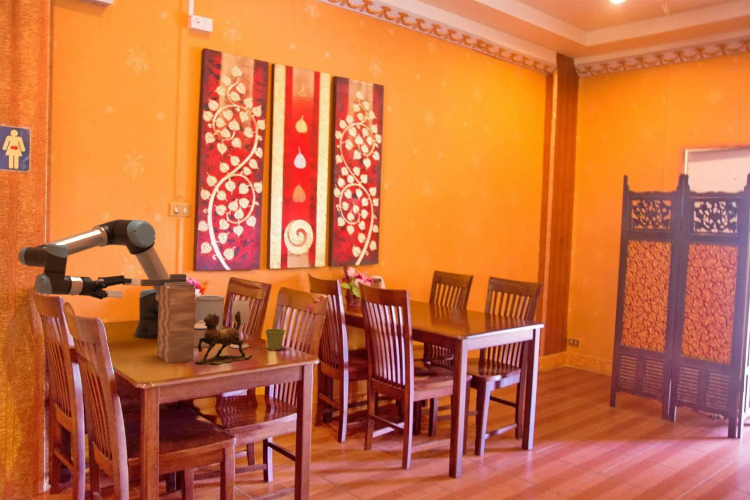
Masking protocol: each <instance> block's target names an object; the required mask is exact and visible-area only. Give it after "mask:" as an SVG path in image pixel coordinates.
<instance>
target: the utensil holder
mask: <svg viewBox="0 0 750 500" xmlns="http://www.w3.org/2000/svg"><path fill="white" fill-rule="evenodd" d="M224 305H225V296H224V295H219V294H200V295H199V294H198V295H195V324H197V323H199V321H203V323H206V322H204V318H206V317H207V316H208V314H210V313H211V314H214V313H215V314H216V316H219V323H218V325H217V326H216V329H217V330H223V324H224V323H223V322H224Z"/></svg>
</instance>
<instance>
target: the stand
mask: <svg viewBox="0 0 750 500" xmlns="http://www.w3.org/2000/svg"><path fill="white" fill-rule="evenodd" d="M195 322H196V287H195V283H189V282H188V281H186V282H173V283H164V286H159V303H158V338H157V343H156V345H157V350H156V351H157V352H156V354H157V355H156V356H158V357H160V358H161V359H162V360H164V361H166V362H167V363H168V362H169V363H168V364H171V363H172V362H173V363H180V362H191V361H194V358H195V357H194V355H195V353H194V352H195V350H194V349H195V347H194V325H195Z"/></svg>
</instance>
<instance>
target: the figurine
mask: <svg viewBox="0 0 750 500" xmlns="http://www.w3.org/2000/svg"><path fill="white" fill-rule="evenodd" d="M240 316H241V315H240V312H239V311H238V312H237V313H236V314H235V320H236V322H237V324H236V327H227V328H224V329H223V328H222V329H221V330H217V329H216V326H217V325H218V323H219V316H216V314H215V313H214V314H211V313H210V314H208V316H207V317H206V318H204V322H206V323H205V326H207V328H206V331H205V334H204V338H202V337H201V338H200V340H199V344H198V348H197V349H198V352H199V353H200V352H202V351H203V348H201V343H202V342H205V343H206V344H209V345H210V346H209V347H207V351H206V353H204V355H203V358H202V359H200V360H195V362H194V364H196V365H212V366H217V365H221V364H222V365H223V364H230V363H232V362H240V361H246V360H250V359H251V358H252V357H253V355H252V354H251V353H250V354H246V353H245V351H244V350H243V348H242V344H243V343H244V342H245V341H244V339H241V340H240V338H239V328H240V326H241V319H240ZM232 344H233V345H238V346H239V348H238V351H239V354H238V355H233V354H229V355H223V354H222V352H223V350H224V349H225V348H226V347H227V346H230V345H232ZM216 345H221V347H220V348H219V349H218V351H217V353H216V354H214V355H213V356H211V357H210V358H208V355H209V354H210V352H211V350H212V349H214V347H215V346H216Z"/></svg>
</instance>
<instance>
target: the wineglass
mask: <svg viewBox="0 0 750 500" xmlns="http://www.w3.org/2000/svg"><path fill="white" fill-rule="evenodd" d="M238 311H239V312H240V315H241V316H240V319H241V326H240V328H239V329H238V332H239V338H240V340H242V327H243V325H245V324H246V323H247V322H248V321H249V319H250V311H251V310H250V303H249V300H241V299H239V300H234V301H233V302H232V306H231V319H232V321H233V323H234V324H236V325H237V322H236V320H235V314H236V313H237V312H238ZM229 346H230V348H234V349H239V346H238V345H233V344H229ZM249 347H250V345H249V344H247V343H244V342H243V344H242V349H246V348H249Z"/></svg>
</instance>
